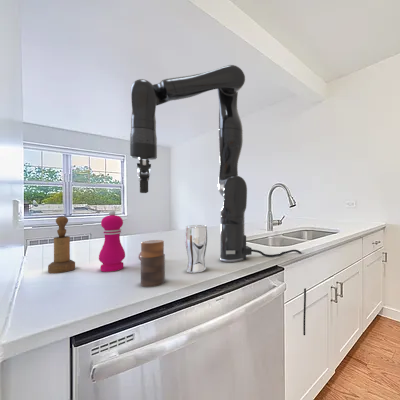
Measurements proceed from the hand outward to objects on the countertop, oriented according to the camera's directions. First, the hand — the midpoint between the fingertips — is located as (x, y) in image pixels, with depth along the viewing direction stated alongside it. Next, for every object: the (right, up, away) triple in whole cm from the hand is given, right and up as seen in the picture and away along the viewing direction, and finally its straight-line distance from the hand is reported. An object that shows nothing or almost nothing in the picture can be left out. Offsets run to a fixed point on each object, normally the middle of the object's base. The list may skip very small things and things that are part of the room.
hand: (143, 192), depth 84 cm
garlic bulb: (-5, -26, +12) cm, 29 cm away
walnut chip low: (+10, -26, -11) cm, 30 cm away
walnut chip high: (+10, -22, -11) cm, 27 cm away
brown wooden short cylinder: (+10, -18, -11) cm, 24 cm away
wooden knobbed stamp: (-28, -26, +1) cm, 38 cm away
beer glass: (+17, -26, +2) cm, 31 cm away
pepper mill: (-12, -26, +2) cm, 29 cm away
